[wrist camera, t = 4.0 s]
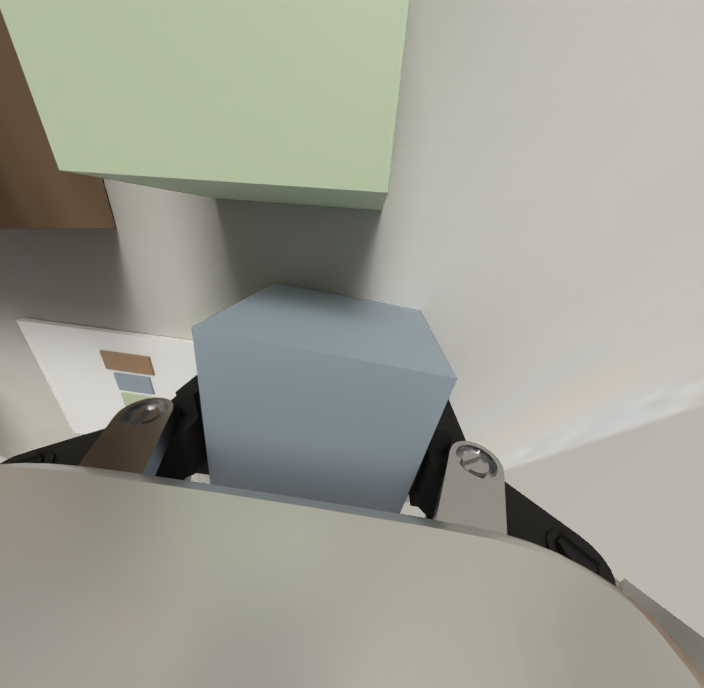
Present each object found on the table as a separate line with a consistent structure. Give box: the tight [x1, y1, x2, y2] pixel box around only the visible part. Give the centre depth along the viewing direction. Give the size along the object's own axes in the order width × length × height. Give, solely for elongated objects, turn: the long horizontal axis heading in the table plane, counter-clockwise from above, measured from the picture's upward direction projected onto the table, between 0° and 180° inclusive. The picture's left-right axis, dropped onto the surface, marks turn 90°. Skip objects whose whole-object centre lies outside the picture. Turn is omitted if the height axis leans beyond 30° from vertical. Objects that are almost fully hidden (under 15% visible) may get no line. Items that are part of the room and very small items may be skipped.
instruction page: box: [16, 318, 197, 434], centre depth 13 cm, size 10×7×1 cm
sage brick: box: [0, 0, 409, 210], centre depth 5 cm, size 6×7×5 cm
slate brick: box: [192, 282, 457, 514], centre depth 9 cm, size 6×7×5 cm
